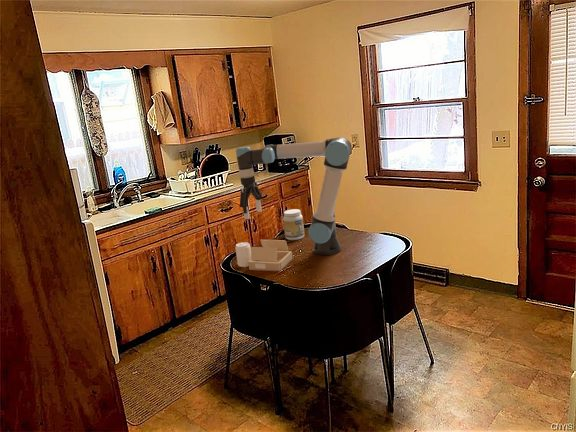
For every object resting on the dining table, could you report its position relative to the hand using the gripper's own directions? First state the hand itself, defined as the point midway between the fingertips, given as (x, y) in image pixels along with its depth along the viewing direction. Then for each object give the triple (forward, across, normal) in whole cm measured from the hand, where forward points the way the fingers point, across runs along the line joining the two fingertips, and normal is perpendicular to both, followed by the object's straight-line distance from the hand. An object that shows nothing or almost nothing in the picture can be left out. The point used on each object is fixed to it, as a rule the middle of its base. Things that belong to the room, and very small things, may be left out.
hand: (253, 215), depth 249 cm
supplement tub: (+27, -40, +3) cm, 48 cm away
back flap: (+18, -3, +8) cm, 20 cm away
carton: (+27, +4, +8) cm, 28 cm away
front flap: (+18, +10, +9) cm, 22 cm away
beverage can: (+26, +7, -6) cm, 28 cm away
